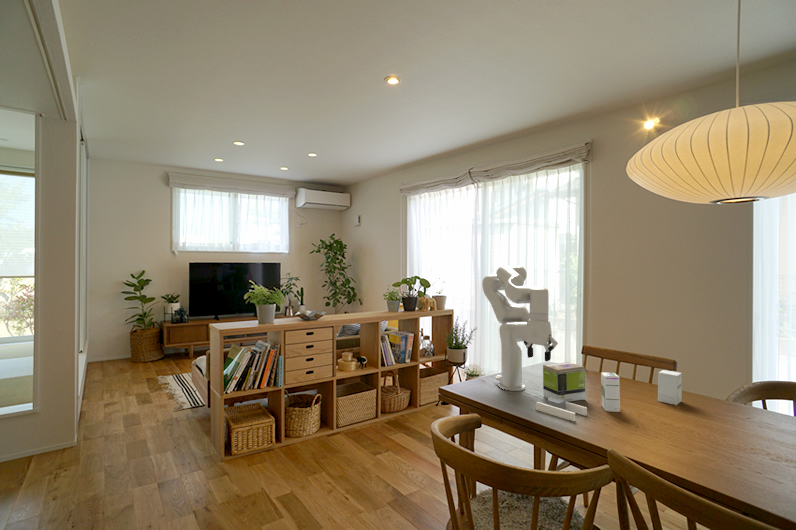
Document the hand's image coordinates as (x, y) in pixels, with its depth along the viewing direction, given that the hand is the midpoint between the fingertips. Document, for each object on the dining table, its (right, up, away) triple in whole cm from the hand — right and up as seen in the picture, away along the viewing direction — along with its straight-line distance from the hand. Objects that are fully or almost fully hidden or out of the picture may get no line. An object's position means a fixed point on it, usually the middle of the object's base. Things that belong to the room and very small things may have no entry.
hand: (538, 358), depth 170 cm
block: (+5, -20, -6) cm, 21 cm away
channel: (+6, -20, -8) cm, 22 cm away
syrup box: (+28, -20, -4) cm, 35 cm away
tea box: (+14, -20, +9) cm, 26 cm away
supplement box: (+59, -20, +5) cm, 62 cm away
